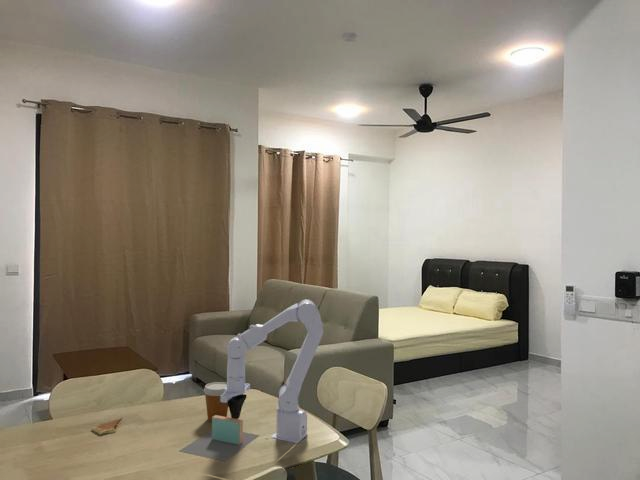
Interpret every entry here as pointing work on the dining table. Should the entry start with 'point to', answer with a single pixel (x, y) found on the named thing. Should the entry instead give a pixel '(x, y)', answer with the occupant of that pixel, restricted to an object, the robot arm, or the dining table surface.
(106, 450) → the dining table surface
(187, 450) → the rubber mat
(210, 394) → the disposable coffee cup
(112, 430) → the pizza slice
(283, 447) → the dining table surface
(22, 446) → the dining table surface
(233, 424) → the terracotta tile
